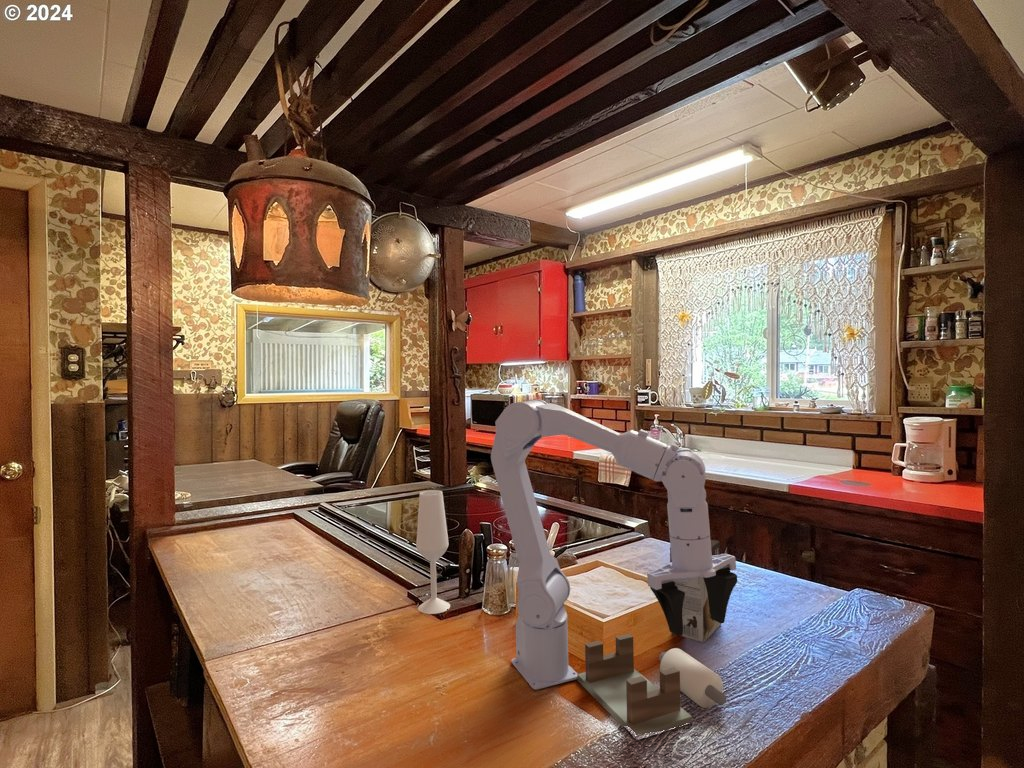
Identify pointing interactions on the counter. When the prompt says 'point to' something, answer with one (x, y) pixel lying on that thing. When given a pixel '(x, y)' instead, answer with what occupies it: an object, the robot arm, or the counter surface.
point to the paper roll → (694, 678)
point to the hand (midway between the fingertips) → (697, 627)
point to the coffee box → (697, 606)
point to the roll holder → (632, 689)
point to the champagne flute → (432, 542)
